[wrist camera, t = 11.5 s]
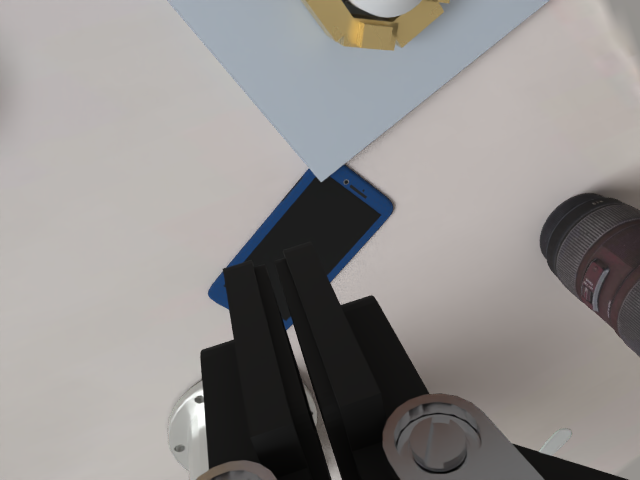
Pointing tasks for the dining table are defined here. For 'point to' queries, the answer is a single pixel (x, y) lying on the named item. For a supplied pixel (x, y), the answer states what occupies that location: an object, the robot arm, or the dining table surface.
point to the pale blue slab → (342, 65)
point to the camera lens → (598, 258)
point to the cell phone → (314, 228)
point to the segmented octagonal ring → (372, 24)
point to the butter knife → (556, 441)
